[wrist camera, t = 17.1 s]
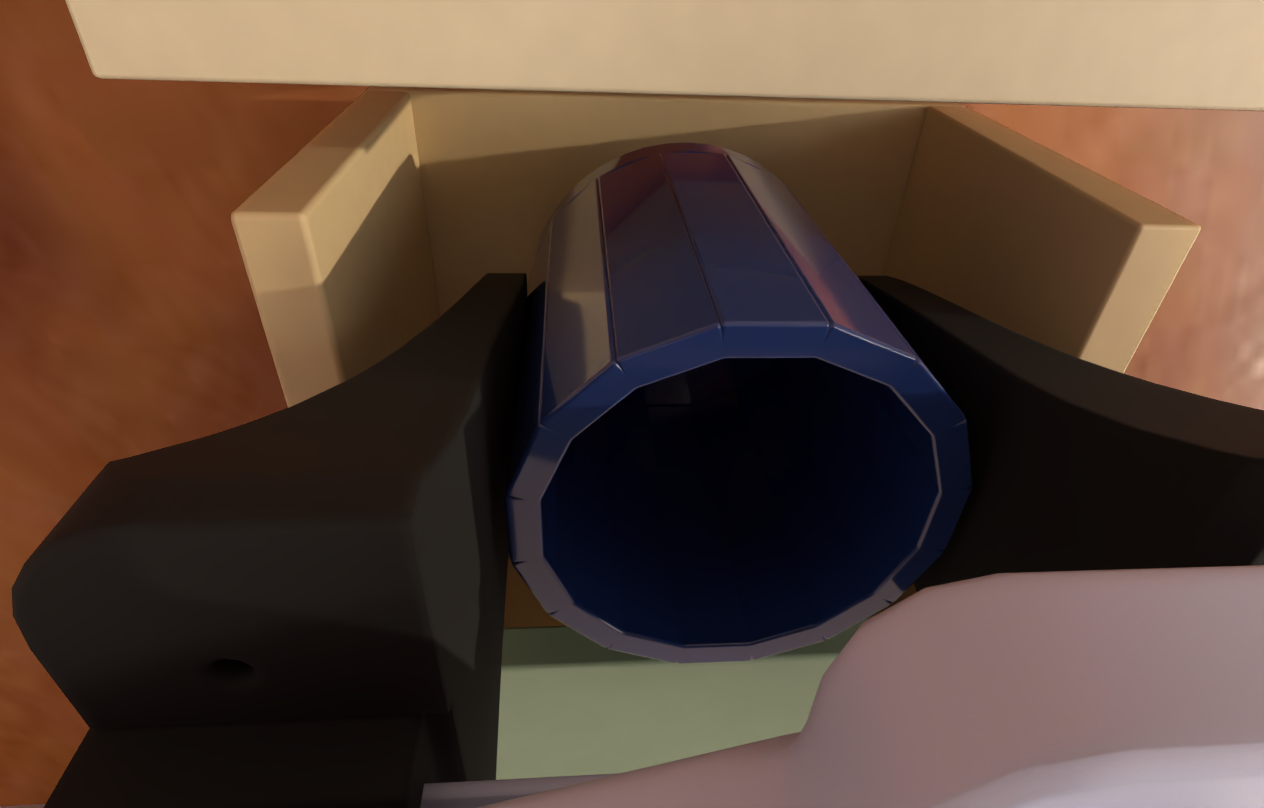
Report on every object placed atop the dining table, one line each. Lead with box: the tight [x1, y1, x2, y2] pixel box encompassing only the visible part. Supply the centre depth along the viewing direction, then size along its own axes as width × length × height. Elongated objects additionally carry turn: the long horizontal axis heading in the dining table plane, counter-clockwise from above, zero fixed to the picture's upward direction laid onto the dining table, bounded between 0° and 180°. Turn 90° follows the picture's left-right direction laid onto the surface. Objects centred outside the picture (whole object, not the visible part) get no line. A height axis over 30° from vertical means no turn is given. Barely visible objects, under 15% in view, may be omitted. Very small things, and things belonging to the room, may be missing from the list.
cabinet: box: [496, 615, 875, 780], centre depth 19 cm, size 15×14×9 cm
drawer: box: [65, 0, 1264, 628], centre depth 12 cm, size 18×12×7 cm
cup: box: [504, 142, 973, 664], centre depth 10 cm, size 5×5×6 cm
